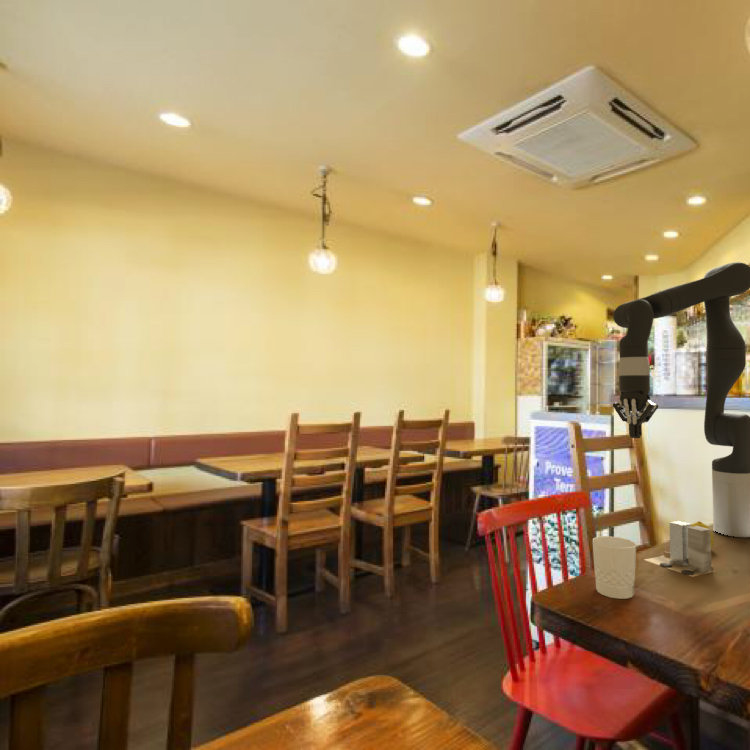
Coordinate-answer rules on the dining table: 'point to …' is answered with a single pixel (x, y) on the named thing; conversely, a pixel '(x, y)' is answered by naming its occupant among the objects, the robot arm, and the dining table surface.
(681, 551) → the block
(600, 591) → the white cup
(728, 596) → the dining table surface
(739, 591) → the dining table surface
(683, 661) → the dining table surface
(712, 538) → the lemon
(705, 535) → the gauge board
